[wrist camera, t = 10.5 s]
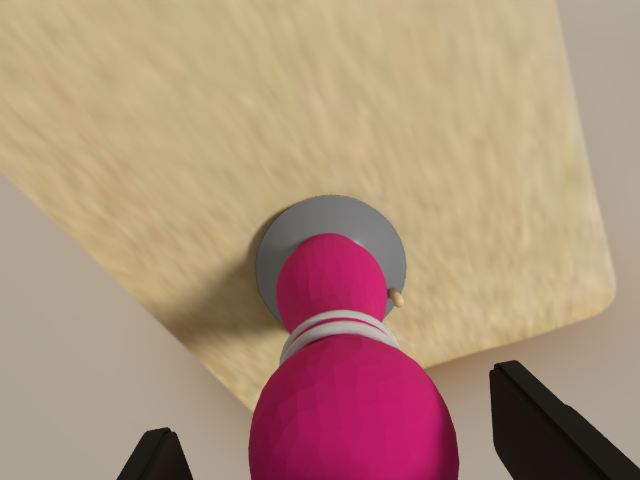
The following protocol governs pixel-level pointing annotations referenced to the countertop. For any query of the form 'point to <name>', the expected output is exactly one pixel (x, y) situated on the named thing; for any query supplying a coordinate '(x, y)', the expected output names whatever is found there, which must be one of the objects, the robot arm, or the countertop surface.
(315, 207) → the grey flat disc
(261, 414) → the pepper mill
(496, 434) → the robot arm
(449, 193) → the countertop surface
